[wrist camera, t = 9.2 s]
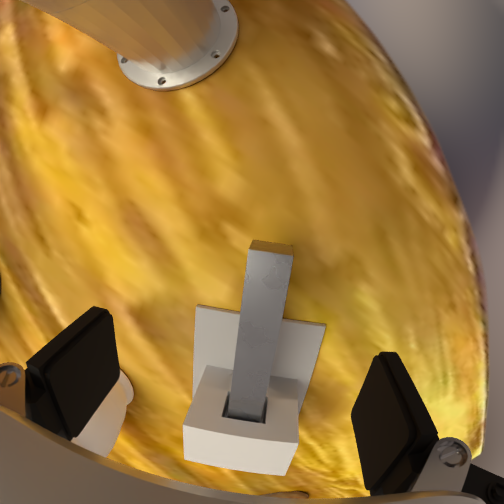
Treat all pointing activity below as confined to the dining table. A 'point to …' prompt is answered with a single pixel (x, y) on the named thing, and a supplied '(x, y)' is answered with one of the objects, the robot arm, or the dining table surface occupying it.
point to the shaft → (259, 327)
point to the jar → (107, 419)
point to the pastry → (288, 495)
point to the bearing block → (219, 386)
